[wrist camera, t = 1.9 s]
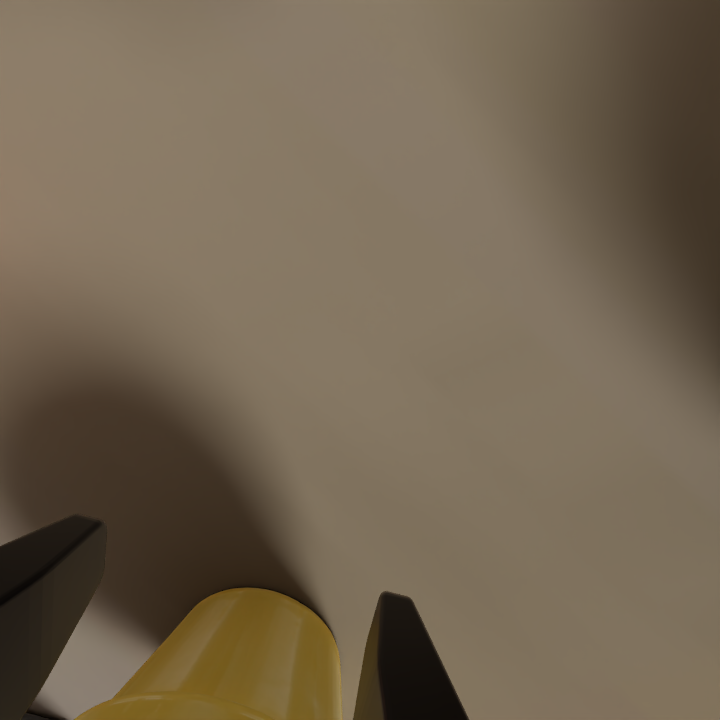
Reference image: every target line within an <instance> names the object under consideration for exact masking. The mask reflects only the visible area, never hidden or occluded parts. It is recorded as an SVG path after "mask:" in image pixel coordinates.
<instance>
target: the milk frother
mask: <svg viewBox="0 0 720 720" xmlns="http://www.w3.org/2000/svg"><path fill="white" fill-rule="evenodd" d="M21 720H49V719H48V718H43V717H40V716H37V715H33V714H28V713H25V714H24V716H23V717H22V718H21Z"/></svg>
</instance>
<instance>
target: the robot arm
mask: <svg viewBox="0 0 720 720" xmlns="http://www.w3.org/2000/svg"><path fill="white" fill-rule="evenodd" d="M106 537H107V526H106V523H105V522H104V521H103V520H101V519H97V518H93V517H89V516H85V515H81V514H75V515H72V516H69V517H67V518H64V519H62V520H60V521H57V522H55V523H53V524H50V525H48V526H46V527H43V528H41V529H39V530H36V531H34V532H32V533H29V534H27V535H25V536H22V537H20V538H18V539H15V540H13V541H11V542H8V543H6V544H4V545H1V546H0V720H21V718H22V717H23V716H24V714H25V713H26V711H27V710H28V708H29V707H30V705H31V704H32V702H33V701H34V699H35V698H36V696H37V695H38V693H39V691H40V690H41V688H42V686H43V685H44V683H45V681H46V679H47V678H48V676H49V674H50V673H51V671H52V669H53V667H54V665H55V664H56V662H57V660H58V658H59V656H60V654H61V653H62V651H63V649H64V647H65V645H66V644H67V642H68V640H69V638H70V636H71V635H72V633H73V631H74V629H75V627H76V625H77V624H78V622H79V620H80V618H81V616H82V615H83V613H84V611H85V609H86V607H87V606H88V604H89V602H90V600H91V598H92V596H93V595H94V593H95V591H96V589H97V587H98V585H99V583H100V581H101V578H102V575H103V571H104V564H105V550H106ZM353 720H469V718H468V716H467V714H466V712H465V710H464V708H463V706H462V704H461V702H460V699H459V697H458V695H457V693H456V691H455V689H454V687H453V685H452V683H451V680H450V678H449V676H448V674H447V672H446V670H445V668H444V666H443V664H442V661H441V659H440V657H439V655H438V653H437V651H436V649H435V647H434V645H433V642H432V640H431V638H430V636H429V634H428V632H427V630H426V628H425V626H424V623H423V621H422V619H421V617H420V615H419V613H418V611H417V609H416V607H415V605H414V602H413V601H412V599H411V598H409V597H407V596H404V595H400V594H396V593H392V592H388V591H384V592H382V593H381V595H380V597H379V600H378V603H377V607H376V610H375V614H374V617H373V621H372V624H371V628H370V631H369V635H368V639H367V643H366V648H365V653H364V659H363V665H362V670H361V676H360V682H359V688H358V694H357V700H356V706H355V712H354V718H353Z"/></svg>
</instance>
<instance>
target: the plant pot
mask: <svg viewBox="0 0 720 720" xmlns="http://www.w3.org/2000/svg"><path fill="white" fill-rule="evenodd" d="M74 720H343V719H342V697H341V672H340V659H339V653H338V649H337V645H336V642H335V640H334V638H333V635H332V633H331V632H330V630H329V629H328V627H327V626H326V625H325V623H324V622H323V621H322V620H321V619H320V618H319V617H318V616H317V615H316V614H315V613H314V612H313V611H312V610H310V609H309V608H308V607H306V606H305V605H303V604H301V603H299V602H298V601H296V600H294V599H292V598H290V597H288V596H286V595H283V594H281V593H278V592H274V591H271V590H266V589H260V588H248V587H246V588H234V589H229V590H224V591H221V592H218V593H216V594H213V595H211V596H209V597H207V598H206V599H204V600H202V601H201V602H200V603H198V604H197V605H196V606H195V607H194V608H193V609H192V610H191V611H190V612H189V614H188V615H187V616H186V617H185V618H184V619H183V621H182V622H181V623H180V624H179V625H178V626H177V627H176V629H175V630H174V631H173V632H172V633H171V634H170V635H169V637H168V638H167V639H166V640H165V641H164V642H163V643H162V644H161V645H160V647H159V648H158V649H157V650H156V651H155V652H154V653H153V654H152V655H151V657H150V658H149V659H148V660H147V661H146V662H145V663H144V664H143V665H142V667H141V668H140V669H139V670H138V671H137V672H136V673H135V674H134V675H133V677H132V678H131V679H130V680H129V681H128V682H127V683H126V684H125V685H124V686H123V688H122V689H121V690H120V691H119V692H118V693H117V694H116V695H115V696H114V697H113V699H111V700H108V701H106V702H103V703H101V704H99V705H97V706H95V707H93V708H91V709H89V710H87V711H86V712H84V713H82V714H81V715H80V716H78V717H77V718H75V719H74Z"/></svg>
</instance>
